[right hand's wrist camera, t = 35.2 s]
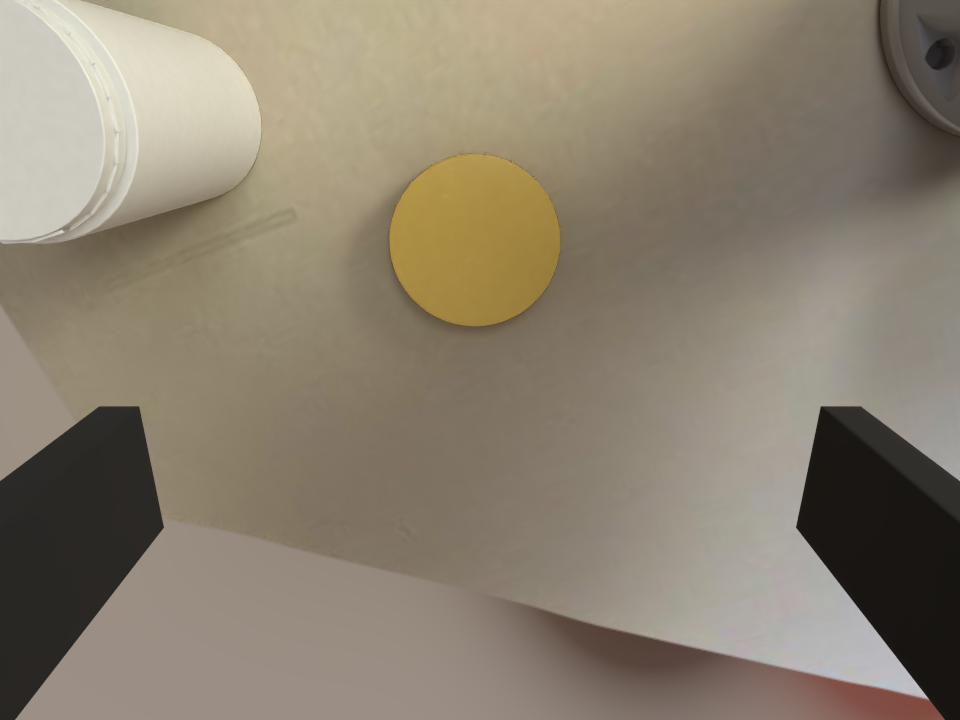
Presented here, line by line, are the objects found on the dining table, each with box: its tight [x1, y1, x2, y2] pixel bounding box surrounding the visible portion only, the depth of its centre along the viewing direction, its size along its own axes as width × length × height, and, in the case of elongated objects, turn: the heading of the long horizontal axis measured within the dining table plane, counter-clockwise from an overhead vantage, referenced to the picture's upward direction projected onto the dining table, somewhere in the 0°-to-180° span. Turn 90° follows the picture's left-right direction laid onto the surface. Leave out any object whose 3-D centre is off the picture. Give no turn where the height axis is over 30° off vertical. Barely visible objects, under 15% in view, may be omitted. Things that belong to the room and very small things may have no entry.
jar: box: [0, 0, 261, 244], centre depth 28 cm, size 9×9×15 cm
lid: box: [389, 153, 560, 326], centre depth 36 cm, size 9×9×2 cm
